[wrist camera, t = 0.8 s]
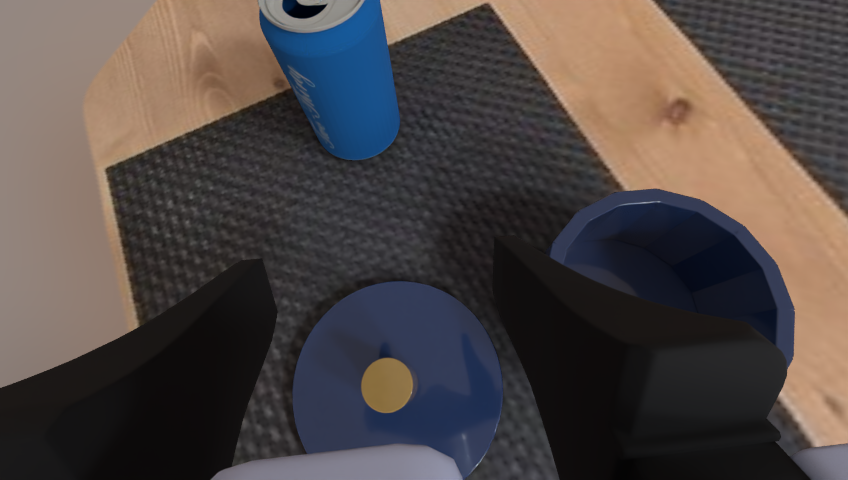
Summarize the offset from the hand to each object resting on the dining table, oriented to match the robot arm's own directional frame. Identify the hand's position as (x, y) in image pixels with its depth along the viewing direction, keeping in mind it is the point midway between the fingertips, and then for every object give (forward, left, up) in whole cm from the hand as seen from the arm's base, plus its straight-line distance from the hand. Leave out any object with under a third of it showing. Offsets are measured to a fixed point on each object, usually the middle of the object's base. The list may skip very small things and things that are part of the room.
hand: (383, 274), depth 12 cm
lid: (-3, +1, -14) cm, 14 cm away
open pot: (0, -13, -14) cm, 19 cm away
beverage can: (+16, +3, -14) cm, 22 cm away
